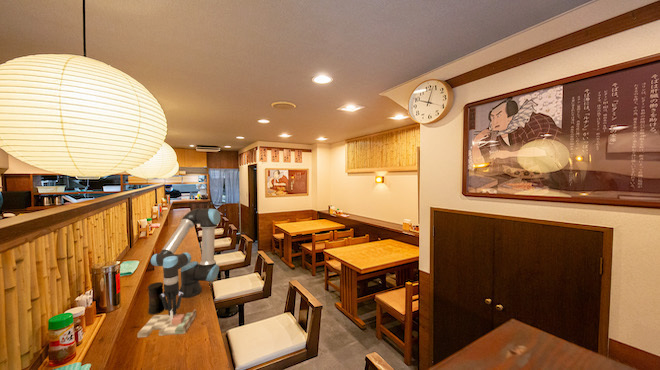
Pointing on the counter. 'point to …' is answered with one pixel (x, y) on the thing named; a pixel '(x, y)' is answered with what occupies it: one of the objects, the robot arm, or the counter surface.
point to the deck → (166, 325)
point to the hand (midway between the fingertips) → (172, 320)
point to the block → (178, 319)
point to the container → (155, 298)
